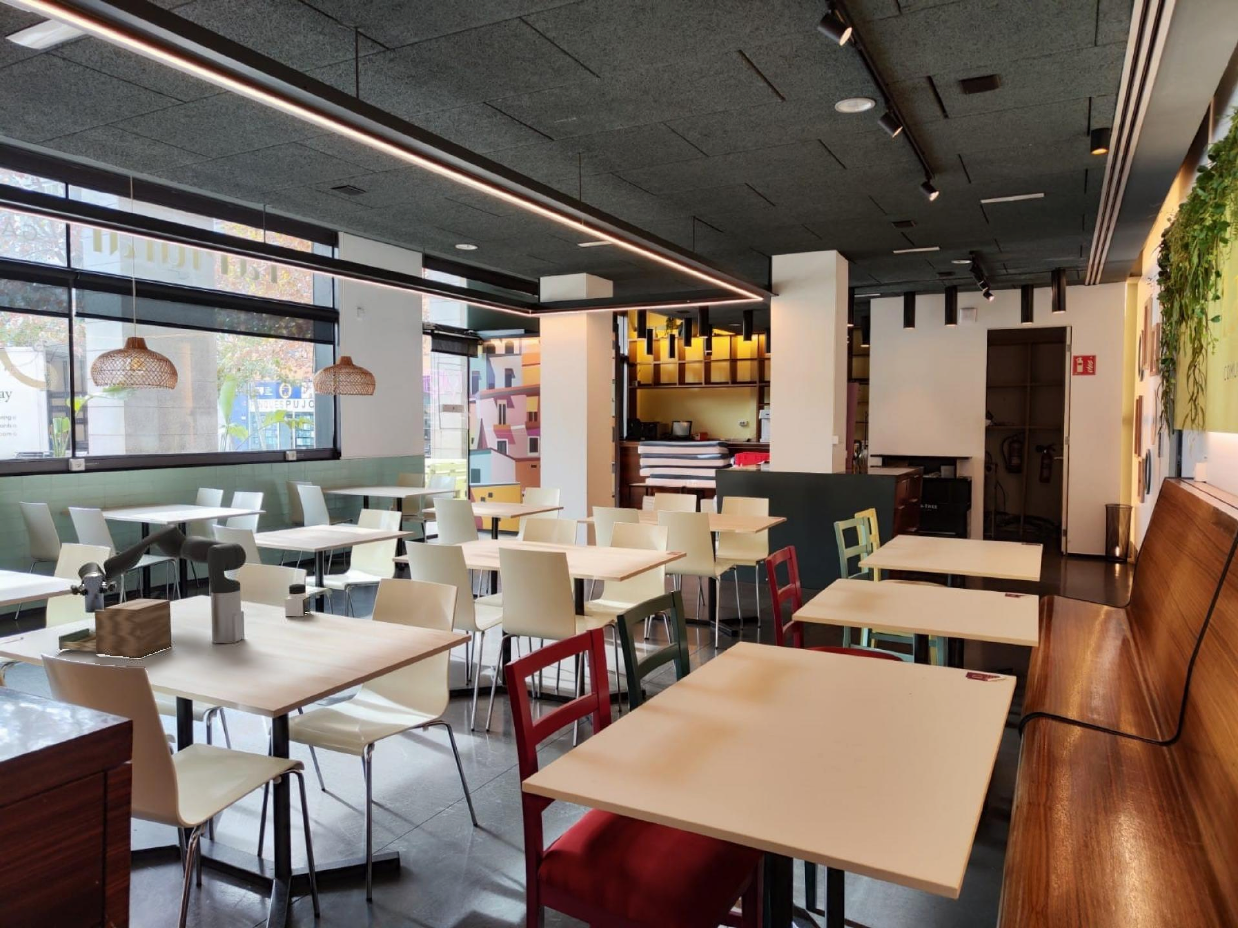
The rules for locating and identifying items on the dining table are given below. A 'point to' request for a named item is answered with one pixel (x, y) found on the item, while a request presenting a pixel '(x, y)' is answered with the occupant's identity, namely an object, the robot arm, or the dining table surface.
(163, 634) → the walnut box
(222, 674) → the dining table surface
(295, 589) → the medicine bottle
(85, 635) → the wooden drawer
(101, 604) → the can
